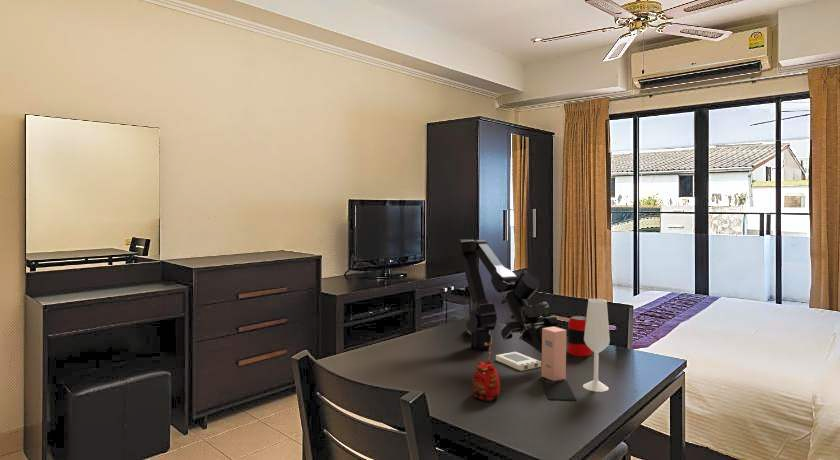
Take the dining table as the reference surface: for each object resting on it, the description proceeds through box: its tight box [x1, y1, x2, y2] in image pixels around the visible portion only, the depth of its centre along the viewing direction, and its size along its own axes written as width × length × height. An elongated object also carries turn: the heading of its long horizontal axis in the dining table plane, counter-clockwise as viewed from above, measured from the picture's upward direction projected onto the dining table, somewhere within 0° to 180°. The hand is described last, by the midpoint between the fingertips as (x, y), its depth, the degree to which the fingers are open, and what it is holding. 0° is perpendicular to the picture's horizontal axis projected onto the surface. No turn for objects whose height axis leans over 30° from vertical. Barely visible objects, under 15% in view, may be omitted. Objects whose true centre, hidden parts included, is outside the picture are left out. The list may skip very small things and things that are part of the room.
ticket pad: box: [495, 351, 542, 372], centre depth 162 cm, size 12×8×2 cm, turn 29°
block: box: [541, 326, 568, 381], centre depth 147 cm, size 5×5×14 cm
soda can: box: [567, 315, 592, 358], centre depth 172 cm, size 8×8×12 cm
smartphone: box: [540, 379, 577, 402], centre depth 139 cm, size 7×1×15 cm
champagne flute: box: [582, 298, 611, 393], centre depth 140 cm, size 7×7×24 cm
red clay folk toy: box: [471, 338, 501, 402], centre depth 133 cm, size 8×7×15 cm
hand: (543, 352), depth 151 cm, fingers closed
